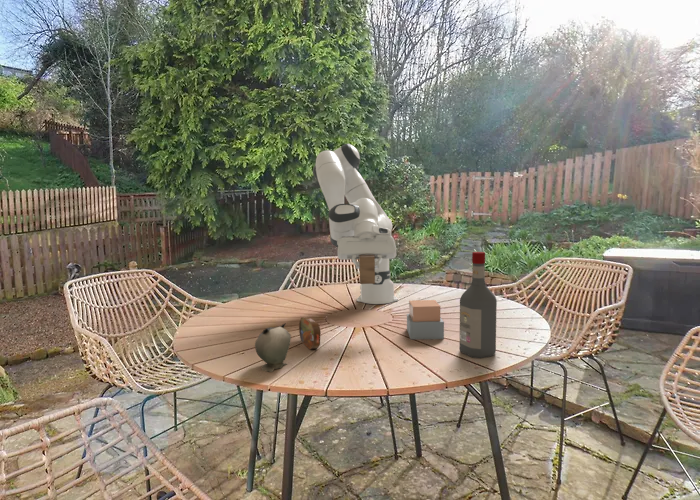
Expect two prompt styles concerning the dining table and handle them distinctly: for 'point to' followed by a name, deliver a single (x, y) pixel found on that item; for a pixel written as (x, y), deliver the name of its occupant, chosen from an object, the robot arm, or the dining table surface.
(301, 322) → the tin
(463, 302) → the liquor
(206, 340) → the dining table surface
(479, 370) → the dining table surface
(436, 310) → the tower top
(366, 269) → the walnut block
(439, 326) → the tower base
